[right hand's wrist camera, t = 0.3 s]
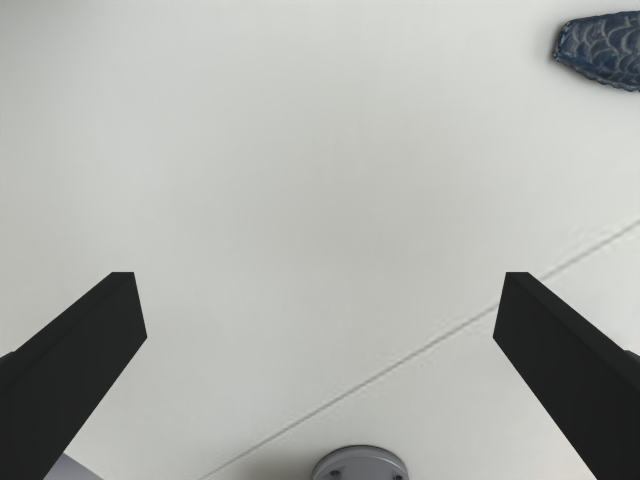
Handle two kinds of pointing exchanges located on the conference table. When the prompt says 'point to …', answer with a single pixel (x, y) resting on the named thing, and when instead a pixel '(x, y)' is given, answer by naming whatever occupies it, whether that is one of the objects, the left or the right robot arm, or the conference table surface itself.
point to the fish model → (603, 48)
